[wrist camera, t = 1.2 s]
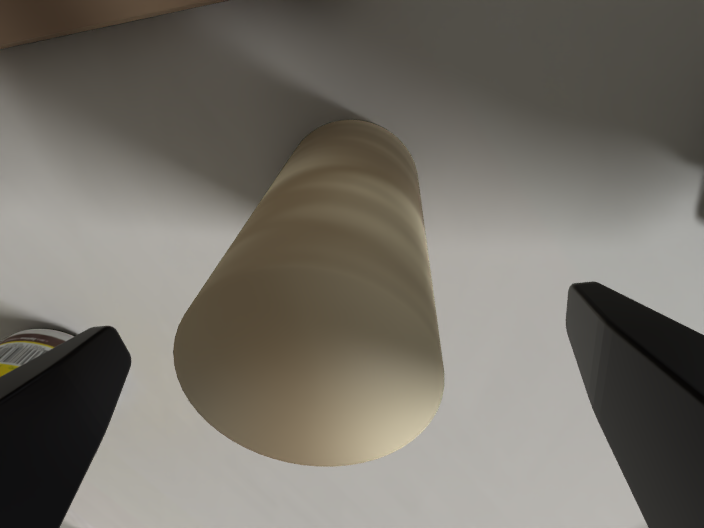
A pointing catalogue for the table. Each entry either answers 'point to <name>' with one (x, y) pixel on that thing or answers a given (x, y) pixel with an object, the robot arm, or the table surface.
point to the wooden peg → (321, 310)
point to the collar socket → (76, 16)
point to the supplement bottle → (28, 347)
